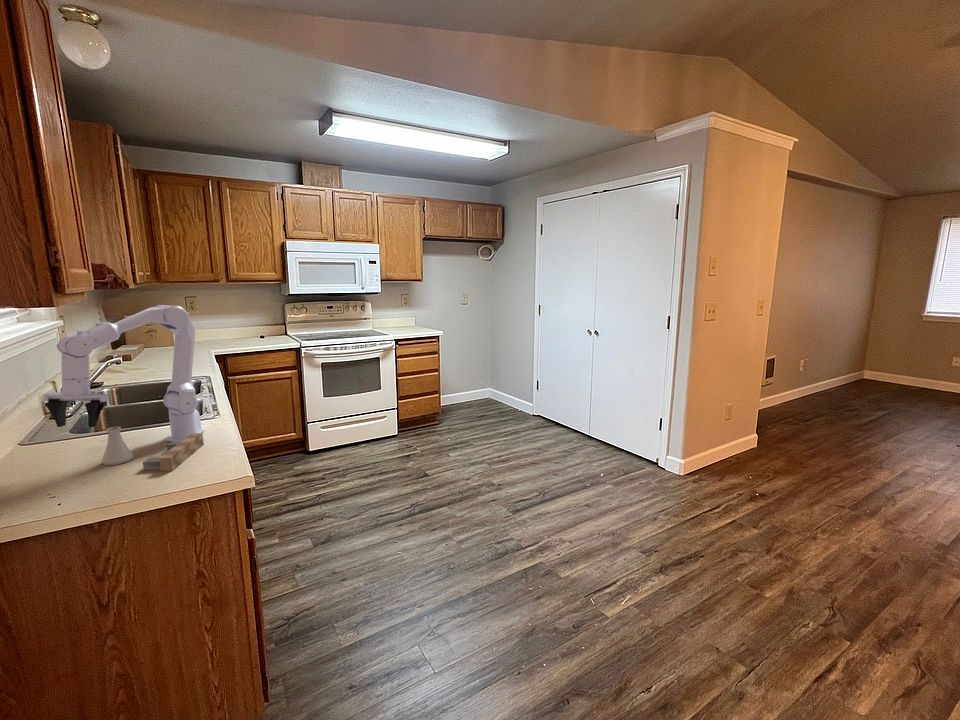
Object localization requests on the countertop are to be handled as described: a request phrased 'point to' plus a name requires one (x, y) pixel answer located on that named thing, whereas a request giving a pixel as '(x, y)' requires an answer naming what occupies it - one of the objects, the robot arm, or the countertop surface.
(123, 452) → the flask
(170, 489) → the countertop surface
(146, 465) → the spice rail
